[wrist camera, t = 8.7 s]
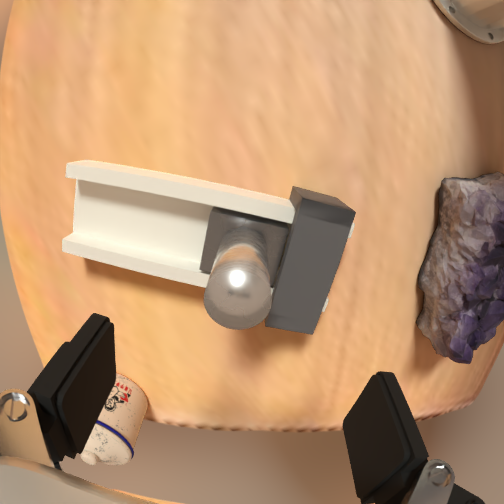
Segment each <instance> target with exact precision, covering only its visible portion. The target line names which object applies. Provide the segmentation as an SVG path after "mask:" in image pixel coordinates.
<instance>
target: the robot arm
mask: <svg viewBox="0 0 504 504" xmlns="http://www.w3.org/2000/svg"><path fill="white" fill-rule="evenodd" d="M433 1H434V2H435V4H436V5H437V6H438V8H439V9H440V10H441V12H442V13H443V14H444V15H445V16H446V17H447V18H448V19H449V20H450V22H452V23H453V24H454V25H455V26H456V27H457V28H458V29H459V30H461V31H462V32H463V33H465V34H466V35H467V36H469V37H471V38H473V39H474V40H476V41H479V42H482V43H485V44H496V43H499V42H502V41H504V0H433ZM115 382H116V363H115V343H114V324H113V323H111V322H110V319H109V318H108V317H106V316H102V315H99V314H96V313H93V314H92V315H91V316H90V317H89V319H88V320H87V321H86V322H85V324H84V325H83V326H82V327H81V329H80V330H79V331H78V332H77V334H76V335H75V336H74V338H73V339H72V340H71V341H70V342H65V343H64V344H63V345H62V346H61V347H60V348H59V349H58V351H57V352H56V353H55V355H54V356H53V357H52V359H51V360H50V361H49V362H48V364H47V365H46V366H45V368H44V369H43V371H42V372H41V373H40V375H39V376H38V377H37V379H36V380H35V381H34V383H33V384H32V386H31V387H30V388H29V390H28V391H27V393H26V392H25V391H23V390H19V389H8V390H5V391H3V392H2V393H0V504H158V503H154V502H150V501H147V500H143V499H139V498H136V497H133V496H130V495H126V494H123V493H120V492H117V491H114V490H111V489H108V488H105V487H102V486H99V485H97V484H94V483H91V482H89V481H86V480H84V479H81V478H79V477H76V476H73V475H71V474H68V473H65V472H64V471H63V468H62V465H61V463H60V461H63V458H64V456H65V455H66V456H68V457H71V458H73V459H74V458H75V456H76V454H77V453H79V454H81V453H82V452H83V450H84V447H85V445H86V443H87V441H88V439H89V437H90V434H91V432H92V430H93V428H94V426H95V424H96V422H97V420H98V417H99V415H100V413H101V411H102V409H103V407H104V405H105V403H106V401H107V399H108V397H109V395H110V393H111V391H112V389H113V387H114V385H115ZM343 430H344V435H345V439H346V444H347V449H348V454H349V459H350V464H351V469H352V474H353V479H354V483H355V489H356V494H357V497H358V498H360V499H361V504H371V503H375V504H485V503H484V502H483V500H481V499H480V498H479V497H477V496H475V495H474V494H472V493H470V492H468V491H466V490H465V489H463V488H461V487H460V486H458V485H456V484H455V483H454V479H455V476H454V472H453V470H452V468H451V467H450V465H449V464H448V463H446V462H445V461H442V460H439V459H434V460H430V461H429V462H428V460H427V457H428V456H429V455H428V452H427V450H426V447H425V445H424V442H423V440H422V437H421V435H420V432H419V430H418V428H417V425H416V422H415V420H414V418H413V415H412V413H411V411H410V408H409V406H408V404H407V401H406V399H405V397H404V394H403V392H402V390H401V388H400V385H399V383H398V381H397V379H396V377H395V375H394V373H392V372H381V371H380V372H377V373H376V375H373V376H372V377H371V378H370V380H369V382H368V383H367V385H366V387H365V388H364V390H363V391H362V393H361V394H360V396H359V398H358V399H357V401H356V402H355V404H354V405H353V407H352V408H351V410H350V411H349V413H348V414H347V416H346V417H345V419H344V421H343Z"/></svg>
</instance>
